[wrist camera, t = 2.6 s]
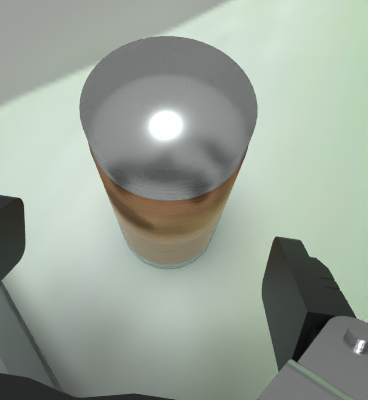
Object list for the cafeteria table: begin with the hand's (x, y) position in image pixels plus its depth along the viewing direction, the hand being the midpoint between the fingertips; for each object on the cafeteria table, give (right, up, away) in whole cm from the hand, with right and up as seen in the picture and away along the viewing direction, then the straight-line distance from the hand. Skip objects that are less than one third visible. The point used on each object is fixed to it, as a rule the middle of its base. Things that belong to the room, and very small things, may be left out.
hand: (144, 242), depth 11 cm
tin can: (0, 0, +13) cm, 13 cm away
